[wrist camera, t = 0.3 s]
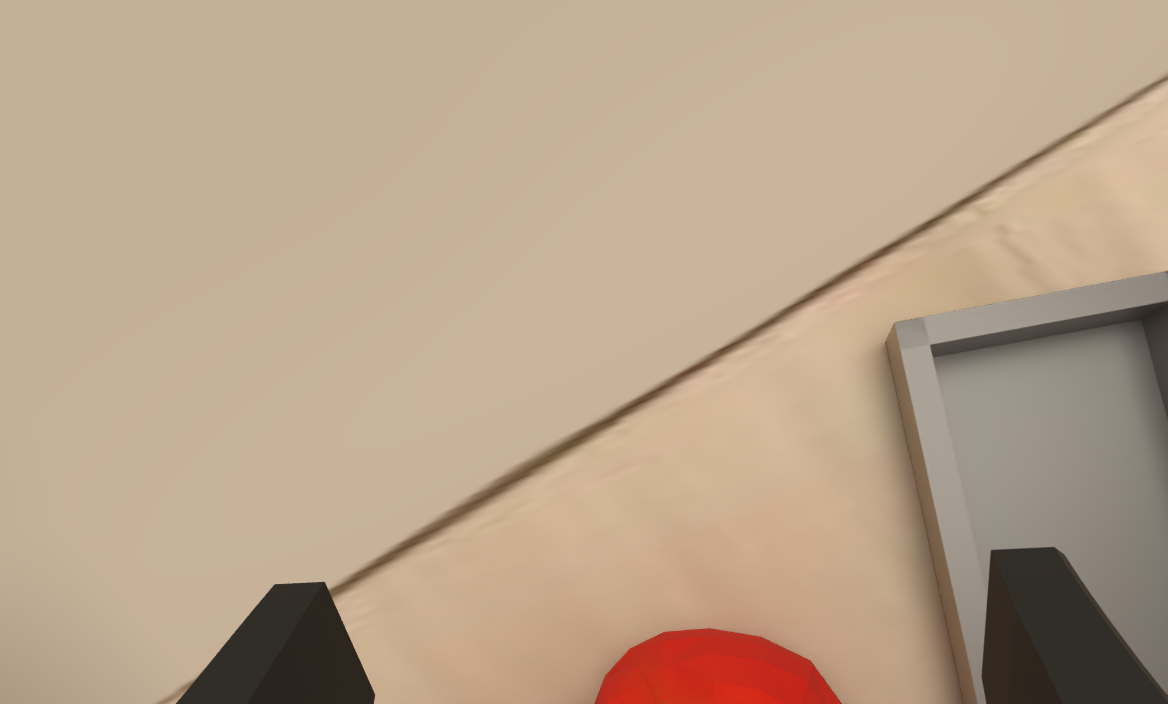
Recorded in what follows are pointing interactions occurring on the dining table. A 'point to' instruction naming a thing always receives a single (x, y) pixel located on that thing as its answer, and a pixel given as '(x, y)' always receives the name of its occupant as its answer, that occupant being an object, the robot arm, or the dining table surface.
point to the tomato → (713, 672)
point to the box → (1044, 451)
